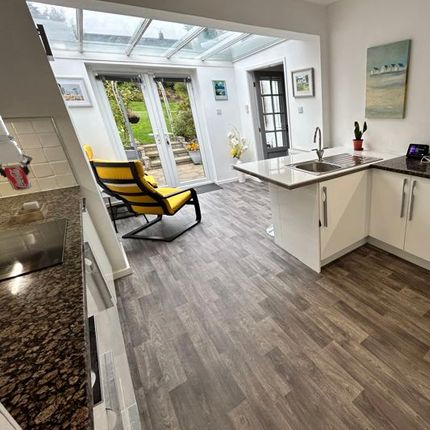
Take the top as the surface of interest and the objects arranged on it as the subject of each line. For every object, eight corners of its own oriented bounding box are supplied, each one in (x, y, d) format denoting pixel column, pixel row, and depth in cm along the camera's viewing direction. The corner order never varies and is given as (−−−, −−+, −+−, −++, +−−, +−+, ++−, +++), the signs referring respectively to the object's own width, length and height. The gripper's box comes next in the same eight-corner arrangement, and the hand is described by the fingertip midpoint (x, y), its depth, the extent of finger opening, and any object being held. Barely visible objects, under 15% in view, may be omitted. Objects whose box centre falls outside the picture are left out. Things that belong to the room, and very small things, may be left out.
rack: (18, 225, 130) (13, 216, 129) (24, 215, 144) (20, 206, 142) (45, 219, 136) (41, 211, 135) (48, 210, 150) (45, 202, 148)
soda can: (13, 191, 130) (1, 168, 126) (13, 189, 135) (1, 166, 130) (33, 188, 135) (22, 165, 131) (32, 186, 140) (22, 164, 135)
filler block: (27, 216, 140) (22, 205, 137) (29, 213, 143) (23, 203, 141) (40, 213, 143) (35, 203, 140) (41, 211, 146) (37, 201, 144)
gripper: (26, 137, 133) (41, 171, 140) (-27, 140, 123) (-8, 177, 130) (24, 138, 128) (40, 173, 135) (-31, 141, 118) (-11, 180, 124)
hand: (16, 175), depth 132 cm, fingers closed on soda can, 7 cm apart
